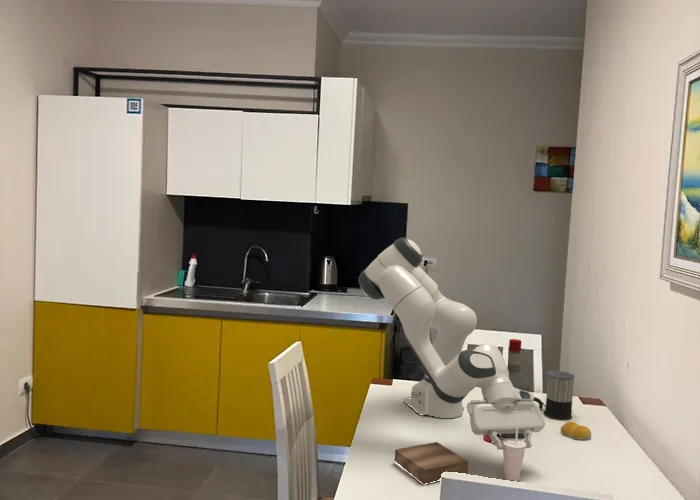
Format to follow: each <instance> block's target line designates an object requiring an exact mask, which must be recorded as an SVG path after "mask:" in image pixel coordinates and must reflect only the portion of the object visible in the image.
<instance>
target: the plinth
mask: <svg viewBox="0 0 700 500" xmlns="http://www.w3.org/2000/svg"><path fill="white" fill-rule="evenodd" d="M394 461H396V462H397V463H398V464H400V465H401V466H402V467H403V468H404V469H406V470H407V471H408V472H409V473H411V474H412V475H413V476H414V477H416V478H417V479H418V480H419V481H421V482H422V483H423V484H425V483H430V482H433V481H437V480H439V479H440V478H441V474H442V473H443V472H446V471H447V472H458V473H466V474H467V475H468V471H469V460H467V459H466V458H464V457H462V456H460V455H459V454H457V453H456V452H454V451H452V450H451V449H449V448H448V447H446V446H444V445H442V444H441V443H440V442H437V441H435V442H429V443H424V444H419V445H418V444H417V445H413V446H408V447H401V448H396V449H394ZM419 481H418V482H419ZM423 484H422V485H423Z"/></svg>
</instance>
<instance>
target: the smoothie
mask: <svg viewBox="0 0 700 500" xmlns="http://www.w3.org/2000/svg"><path fill="white" fill-rule="evenodd" d="M501 441H503V442H504V445H505V448H504V449H502V454H503V468H504V472H503V473H504V479H505V480H507V481H509V480H515V481H514V482H518V481H520V476H521V473H522V467H523V461H524V456H525V451H526V449H527V448H526V443H525V442H524V440H522V439H520V438H519V439H518V427H516V437H515V439H514V438H507V439H506V438H502V440H501ZM516 480H517V481H516Z"/></svg>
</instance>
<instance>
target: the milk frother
mask: <svg viewBox="0 0 700 500" xmlns="http://www.w3.org/2000/svg"><path fill="white" fill-rule="evenodd" d="M546 374H547V383H546V384H547V385H546V398H545V399H546V400H545V403H544V402H543V401H542V400H541V399H540V398H538V397H536V396H534V400H533V402H535V403H536V404H537V403H538V407H539V409H540V411H541V410H542V409H543V408H544V407H545V409H544V411H543V413H544V415H545V417H548V418H549V419H553V420H557V421H558V420H559V421H568V420H571V419H572V418H573V415H572V414H573V412H572V411H573V410H572V408H573V396H574V395H573V394H574V383H575V382H574V381H575V378H576V375H574V374H573V373H570V372H568V371H562V370H550V371H549V370H548V371H547V373H546Z"/></svg>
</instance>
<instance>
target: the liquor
mask: <svg viewBox="0 0 700 500" xmlns="http://www.w3.org/2000/svg"><path fill="white" fill-rule="evenodd" d="M508 341H509V342H508V364H507V368H508V372H509V379H510V381H511V383H512V384H513V387H514V388H517V389H520V390H523V391H527V392H530V389H531V388H530V387H531V386H530V382H529V381H528V378H526V376H525V375H524V374H523V373H522V371H521V368H520V365H521V364H520V363H521V362H520V361H521V360H520V359H521V351H522V340H520V339H516V338H514V339H513V338H511V339H509V340H508ZM515 437H516V433H507V434H501V436H500V438H502V439H507V438H514V439H515ZM524 438H526V436H524V434H523V433H518V439H519V440H520V439H524Z"/></svg>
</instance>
